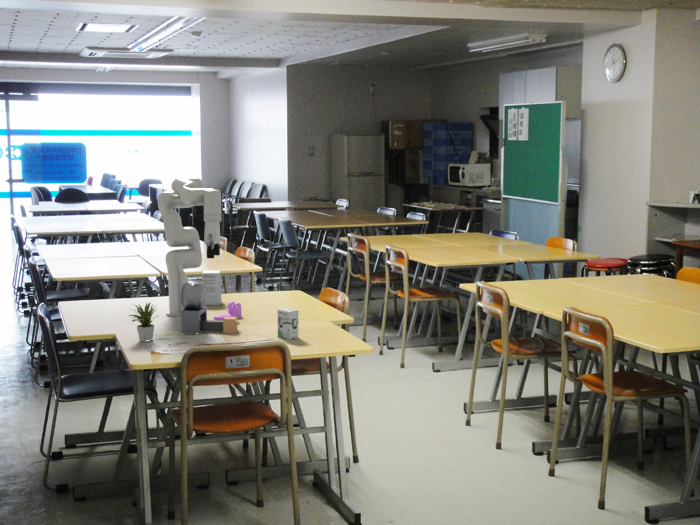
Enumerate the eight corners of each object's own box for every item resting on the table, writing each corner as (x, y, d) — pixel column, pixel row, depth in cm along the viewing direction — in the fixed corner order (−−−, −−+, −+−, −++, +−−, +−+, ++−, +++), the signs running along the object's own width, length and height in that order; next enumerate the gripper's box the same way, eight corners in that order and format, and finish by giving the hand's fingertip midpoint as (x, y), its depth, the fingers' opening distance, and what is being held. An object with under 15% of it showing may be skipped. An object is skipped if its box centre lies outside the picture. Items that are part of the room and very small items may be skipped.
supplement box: (204, 302, 414) (203, 270, 412) (221, 301, 415) (220, 270, 413) (202, 305, 404) (201, 273, 402) (220, 304, 405) (219, 272, 403)
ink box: (277, 336, 330) (276, 308, 328) (286, 334, 333) (285, 307, 331) (290, 339, 323) (289, 311, 322) (299, 337, 327) (298, 310, 325)
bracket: (234, 315, 378) (234, 301, 377) (241, 316, 374) (241, 302, 373) (211, 318, 369) (211, 304, 368) (218, 320, 365) (217, 305, 364)
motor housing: (189, 327, 348) (188, 281, 345) (207, 328, 347) (205, 281, 345) (181, 333, 336) (179, 285, 333) (199, 333, 335) (198, 285, 333)
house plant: (131, 336, 331) (130, 298, 329) (165, 335, 332) (163, 297, 330) (124, 344, 317) (122, 304, 315) (159, 343, 318) (157, 303, 316)
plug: (188, 329, 344) (188, 316, 344) (240, 330, 342) (240, 316, 342) (185, 332, 339) (184, 318, 339) (238, 332, 337) (237, 319, 337)
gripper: (209, 216, 350) (210, 254, 353) (198, 219, 333) (199, 259, 335) (225, 216, 350) (226, 254, 352) (216, 219, 332) (216, 259, 335)
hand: (213, 256), depth 344 cm, fingers open, 9 cm apart
